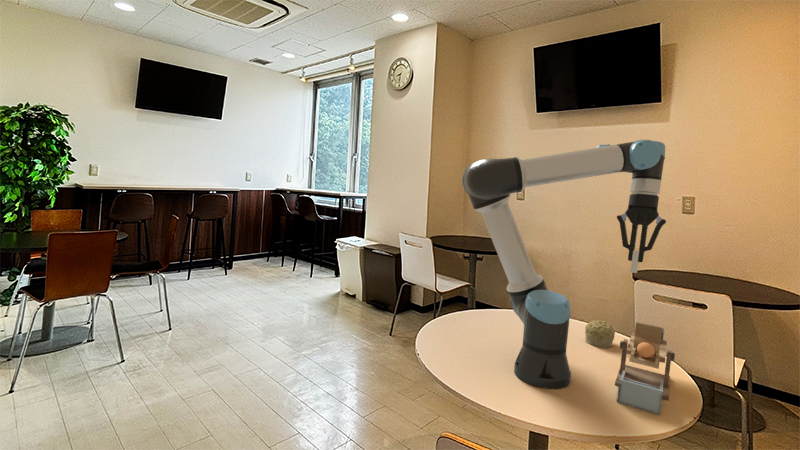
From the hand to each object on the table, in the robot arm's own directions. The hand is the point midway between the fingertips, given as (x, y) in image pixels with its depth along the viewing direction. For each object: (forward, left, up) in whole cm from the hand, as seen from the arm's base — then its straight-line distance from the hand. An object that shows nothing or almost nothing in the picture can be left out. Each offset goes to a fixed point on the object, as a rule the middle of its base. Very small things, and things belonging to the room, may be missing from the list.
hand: (633, 272), depth 121 cm
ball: (-13, -11, -18) cm, 24 cm away
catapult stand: (-6, -8, -29) cm, 31 cm away
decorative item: (+11, +14, -29) cm, 34 cm away
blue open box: (-18, -13, -29) cm, 37 cm away
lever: (-5, -8, -21) cm, 23 cm away
